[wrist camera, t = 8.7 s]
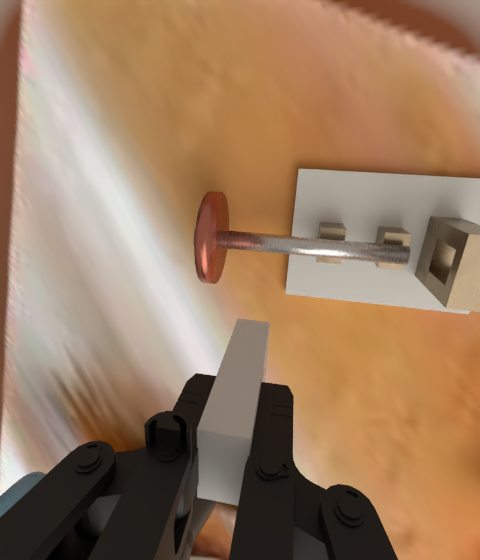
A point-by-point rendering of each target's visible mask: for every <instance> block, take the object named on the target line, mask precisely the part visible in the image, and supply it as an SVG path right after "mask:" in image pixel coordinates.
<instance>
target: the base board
mask: <svg viewBox="0 0 480 560" xmlns="http://www.w3.org/2000/svg"><path fill="white" fill-rule="evenodd" d="M430 216H434V217H448V218H462V219H465V220H468V221H470V222H473V223H476V224H478V225H480V178H466V177H448V176H430V175H411V174H393V173H375V172H357V171H339V170H320V169H302V168H299V171H298V181H297V190H296V199H295V208H294V218H293V227H292V236H297V237H308V238H318V231H319V223H320V222H331V223H343V224H344V226H345V228H346V229H347V230H346V236H345V241H355V242H367V243H375V240H376V236H377V231H378V226H382V227H395V228H403V229H405V230H406V231H408V232H409V233H411V234H412V236H411V240H410V244H409V247H410V259H409V262H408V263H407V265H404V268H403V270H396V269H385V268H377V266H376V265H375V263H374V262H366V261H355V260H345V259H341V264H333V263H323V262H316V257H313V256H302V255H291V254H290V255H289V264H288V273H287V282H286V292H285V294H291V295H300V296H309V297H318V298H327V299H336V300H345V301H354V302H363V303H372V304H381V305H390V306H399V307H408V308H417V309H427V310H436V311H445V312H454V313H463V314H469V313H470V311H467V310H457V309H448V308H445V307H444V306H443V305H442V304H441V303H440V302H439V301H438V300H437V299H436V298H435V297H434V295H433V294H432V293H431V292H430V291H429V290H428V289H427V288H426V287H425V286H424V285H423V284H422V283H421V282H420V281H419V280H418V279H417V278H416V277H415V272H416V268H417V264H418V261H419V257H420V253H421V249H422V246H423V242H424V238H425V234H426V230H427V227H428V223H429V219H430Z"/></svg>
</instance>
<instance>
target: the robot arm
mask: <svg viewBox="0 0 480 560" xmlns="http://www.w3.org/2000/svg"><path fill="white" fill-rule="evenodd" d="M269 329H270V322H261V321H253V320H245V319H238V320H237V322H236V325H235V328H234V330H233V333H232V336H231V339H230V341H229V344H228V347H227V349H226V352H225V355H224V357H223V360H222V363H221V366H220V368H219V371H218V374H217V376H211V375H204V374H197V373H196V374H195V375H194V376H193V377H191V378H190V379H189V380H188V381H187V382H186V384H185V386H184V388H183V390H182V393H181V394H180V396H179V398H178V402H176V405H175V407H174V409H173V411H165V412H161V413H158V414H156V415H154V416H153V417H151V418H150V419H149V420H148V421H147V422H146V423H145V425H144V428H145V439H146V447H144V448H142V449H138V450H133V451H126V452H117V453H114V450H113V447H112V446H111V445H109V444H108V443H107V442H102V441H93V442H88V443H86V444H83V445H81V446H79V447H77V448H76V449H75V450H73V451H72V452H70V453H69V454H68V455H67V456H66V457H65V458H64V459H63V460H62V461H61V462H60V463H59V464H57V465H56V466H55V467H54V468H53V469H52V470H51V471H50V472H49V473H48V474H45V473H42V472H33V473H30V474H27V475H26V476H24V477H22V478H21V479H20V480H18V481H17V482H16V483H15V484H14V485H12V486H11V487H10V488H9V489H8V490H7V491H6V492H4V493H3V494H2V495H1V496H0V560H189V559H190V555H191V552H192V548H193V544H194V541H195V539H196V537H197V536H198V534H199V532H200V531H201V529H202V528H203V526H204V524H205V523H206V521H207V519H208V518H209V516H210V514H211V513H212V511H213V509H214V507H215V504H216V501H218V502H223V503H227V504H232V505H237V506H238V510H237V515H236V521H235V527H234V533H233V539H232V544H231V550H230V556H229V560H398V558H397V556H396V554H395V552H394V550H393V547H392V545H391V543H390V541H389V538H388V536H387V534H386V532H385V530H384V527H383V525H382V523H381V521H380V518H379V516H378V514H377V512H376V510H375V508H374V506H373V505H372V503H371V502H370V500H369V499H368V498H367V497H366V496H365V495H364V494H363V493H361V492H360V491H359V490H357V489H355V488H353V487H351V486H348V485H341V484H338V485H334V486H330V487H329V488H328V489H327V490H326V489H324V488H322V487H320V486H318V485H316V484H314V483H312V482H311V481H309V480H308V479H306V478H305V477H304V476H303V475H302V474H301V473H300V472H299V470H298V469H297V467H296V466H295V463H294V461H293V394H292V393H291V391H290V389H289V387H288V386H286V385H279V384H272V383H265V382H264V380H265V373H266V363H267V351H268V340H269Z"/></svg>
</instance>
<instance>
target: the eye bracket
mask: <svg viewBox="0 0 480 560" xmlns="http://www.w3.org/2000/svg"><path fill="white" fill-rule="evenodd" d="M346 230H347V229H346V228H345V226H344V224H343V223H331V222H320V223H319V231H318V238H320V239H332V240H344V241H345V236H346ZM411 236H412V234H411V233H409V232H408V231H406V230H405V229H403V228H395V227H382V226H378V231H377V236H376V240H375V243H379V244H391V245H402V246H409V244H410V240H411ZM316 262H323V263H333V264H341V259H334V258H323V257H316ZM374 263H375V265H376V266H377V268H385V269H396V270H403V268H404V265H398V264H388V263H377V262H374ZM415 277H416V278H417V279H418V280H419V281H420V282H421V283H422V284H423V285H424V286H425V287H426V288H427V289H428V290H429V291H430V292H431V293H432V294H433V295H434V297H435V298H436V299H437V300H438V301H439V302H440V303H441V304H442V305H443V306H444V307H445V308H448V309H457V310H467V311H476V312H480V225H478V224H476V223H473V222H470V221H468V220H465V219H462V218H448V217H434V216H430V219H429V223H428V227H427V230H426V234H425V238H424V242H423V246H422V249H421V253H420V257H419V261H418V264H417V268H416V272H415Z"/></svg>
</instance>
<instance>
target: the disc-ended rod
mask: <svg viewBox="0 0 480 560" xmlns="http://www.w3.org/2000/svg"><path fill="white" fill-rule="evenodd" d="M194 248H195V249H194V250H195V265H196V271H197V275H198V278H199V280H200V281H201V282H203V283H212V284H216V283H217V282H218V281H219V279H220V277H221V274H222V271H223V268H224V264H225V259H226V253H227V249H238V250H248V251H259V252H270V253H280V254H291V255H302V256H313V257H323V258H334V259H345V260H355V261H366V262H377V263H388V264H398V265H407V263H408V262H409V259H410V247H409V246H402V245H391V244H379V243H367V242H355V241H344V240H332V239H320V238H308V237H297V236H285V235H273V234H261V233H250V232H238V231H229V214H228V205H227V200H226V196H225V194H224V193H223V192H212V191H209V192H207V193H206V194H205V196H204V197H203V200H202V202H201V205H200V208H199V212H198V217H197V223H196V228H195V232H194Z"/></svg>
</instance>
